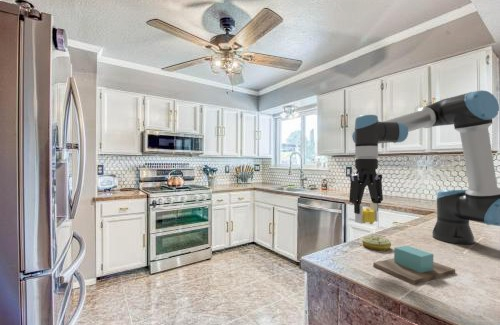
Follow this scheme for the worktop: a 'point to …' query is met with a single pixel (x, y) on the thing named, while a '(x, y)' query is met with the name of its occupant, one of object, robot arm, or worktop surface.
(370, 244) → the decorated donut
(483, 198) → the robot arm
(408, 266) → the base brick
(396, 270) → the walnut board
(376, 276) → the worktop surface
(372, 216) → the teapot
